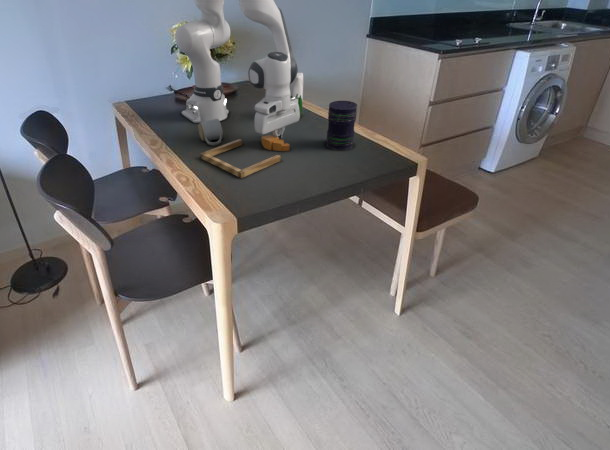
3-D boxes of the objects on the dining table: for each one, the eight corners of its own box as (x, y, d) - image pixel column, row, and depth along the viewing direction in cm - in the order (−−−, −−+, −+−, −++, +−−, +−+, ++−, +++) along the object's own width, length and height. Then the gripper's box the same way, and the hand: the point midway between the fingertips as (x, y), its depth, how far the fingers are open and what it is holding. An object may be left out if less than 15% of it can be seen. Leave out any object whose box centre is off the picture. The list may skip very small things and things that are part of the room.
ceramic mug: (198, 137, 163) (196, 119, 159) (218, 134, 165) (216, 115, 161) (205, 148, 155) (203, 128, 151) (226, 144, 157) (225, 125, 153)
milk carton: (279, 119, 178) (278, 71, 166) (284, 112, 185) (285, 66, 173) (298, 121, 175) (300, 72, 164) (303, 114, 182) (305, 67, 171)
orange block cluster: (254, 144, 156) (253, 135, 154) (265, 139, 160) (265, 130, 158) (280, 154, 148) (280, 145, 146) (291, 149, 151) (291, 140, 149)
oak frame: (201, 158, 147) (200, 153, 146) (239, 144, 157) (239, 138, 156) (241, 178, 133) (240, 172, 132) (280, 161, 143) (280, 155, 142)
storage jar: (336, 152, 148) (340, 111, 139) (320, 143, 155) (323, 103, 147) (359, 146, 151) (363, 106, 143) (342, 137, 158) (345, 98, 150)
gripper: (291, 93, 154) (291, 129, 162) (250, 107, 143) (252, 144, 150) (304, 97, 150) (303, 133, 158) (263, 110, 139) (264, 149, 147)
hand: (278, 139), depth 154 cm, fingers closed
